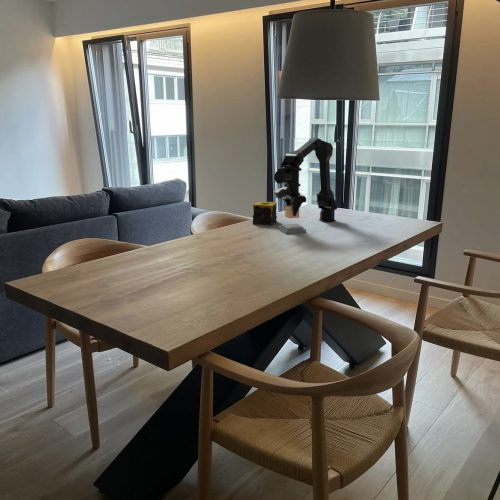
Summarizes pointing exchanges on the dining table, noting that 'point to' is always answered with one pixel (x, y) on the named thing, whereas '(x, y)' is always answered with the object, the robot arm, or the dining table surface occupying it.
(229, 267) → the dining table surface
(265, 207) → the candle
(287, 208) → the block
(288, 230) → the base
